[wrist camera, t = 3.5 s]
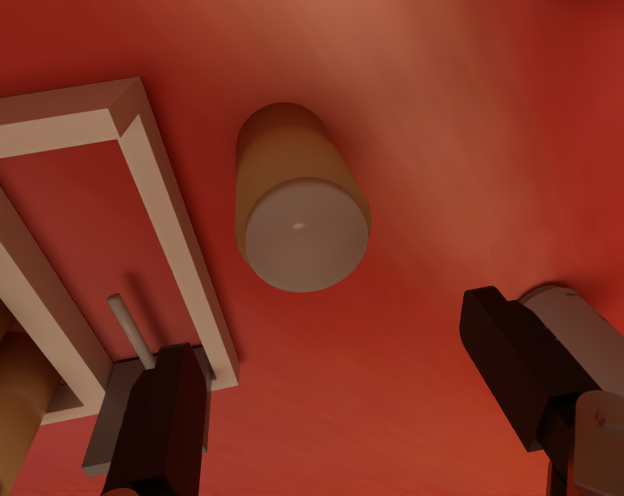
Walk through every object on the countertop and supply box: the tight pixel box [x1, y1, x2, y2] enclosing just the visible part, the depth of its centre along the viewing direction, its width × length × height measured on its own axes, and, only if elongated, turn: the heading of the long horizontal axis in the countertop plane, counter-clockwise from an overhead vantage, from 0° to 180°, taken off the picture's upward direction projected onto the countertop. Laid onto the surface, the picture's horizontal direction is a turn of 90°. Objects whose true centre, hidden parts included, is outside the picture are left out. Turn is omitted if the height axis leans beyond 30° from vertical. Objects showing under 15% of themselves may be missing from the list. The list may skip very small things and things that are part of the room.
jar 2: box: [235, 103, 371, 292], centre depth 19 cm, size 6×6×10 cm
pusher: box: [81, 294, 213, 477], centre depth 26 cm, size 9×7×8 cm
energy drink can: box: [518, 285, 624, 397], centre depth 29 cm, size 6×6×15 cm
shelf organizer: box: [0, 76, 239, 425], centre depth 23 cm, size 23×21×8 cm
